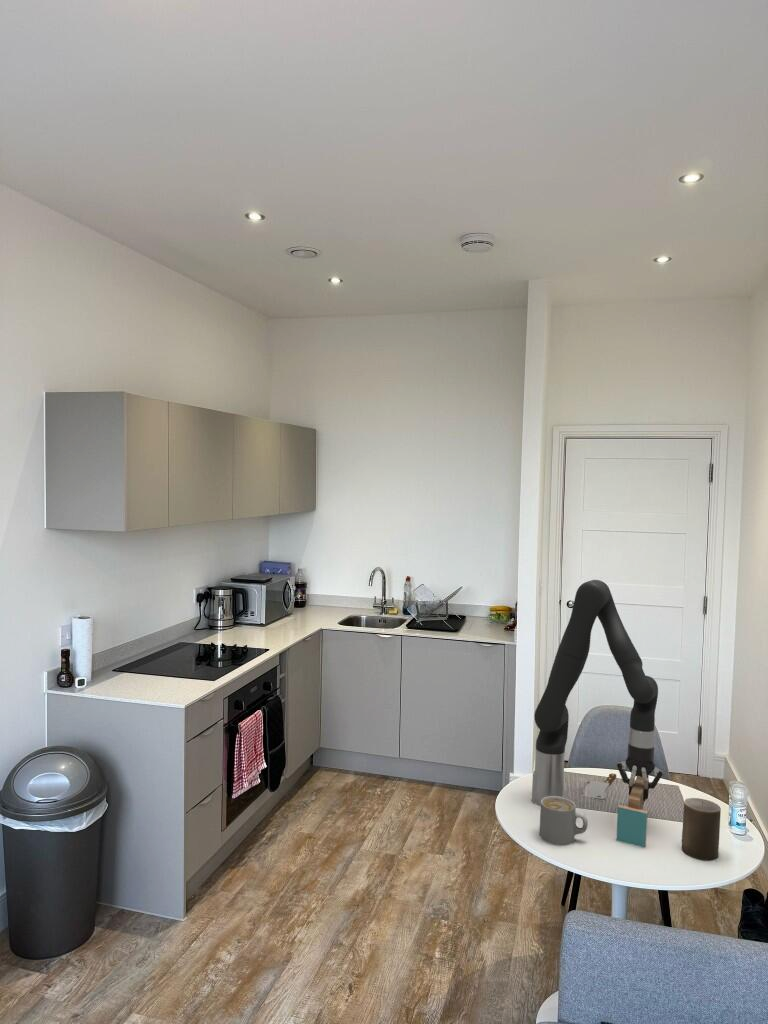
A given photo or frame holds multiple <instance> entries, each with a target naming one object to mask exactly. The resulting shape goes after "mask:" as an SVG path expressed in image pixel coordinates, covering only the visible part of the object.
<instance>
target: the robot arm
mask: <svg viewBox="0 0 768 1024" xmlns="http://www.w3.org/2000/svg"><path fill="white" fill-rule="evenodd" d="M597 618H598V620H599V622H600V624H601V627H602V629H603V631H604V634H605V638H606V642H607V645H608V648H609V650H610V653H611V654H612V657H613V659H614V660H615V662H616V665H617V666H618V668H619V669H620V672H621V675H622V677H623V681H624V684H625V686H626V690H627V691H628V694H629V695H630V697H631V698H632V699H633V707H631V711H630V716H629V717H630V718H629V729H628V736H627V737H628V738H627V739H628V740H627V754H626V755H627V758H626V759H625V761H621V760H619V761H618V762H617V763H616V767H617V769H618V772H619V774H620V777H621V779H622V783H624V784H627V785H628V796H630V793H631V791H632V788H633V785H634V783H635V780H636V778H637V776H640V777H643V782H644V792H643V801H645V802H646V800H648V798H649V791H650V789H652V790H654V789H655V788H656V786H657V784H658V783H659V782H660V780H661V779H662V777H663V774H664V769H661V768H658V767H657V766H656V764H655V761H654V760H655V759H654V757H655V744H656V739H655V738H656V737H655V721H656V717H655V715H656V714H655V713H656V707H657V701H658V696H659V685H658V683H657V681H656V680H655V679H654V678H653V677H652V676H650V675H646V674H645V672H644V669H643V666H644V665H643V661H642V658H641V656H640V654H639V652H638V650H637V649H636V647H635V645H634V643H633V642H632V640H631V637H630V636H629V634H628V632H627V630H626V628H625V626H624V624H623V622H622V620H621V617H620V615H619V612H618V610H617V607H616V604H615V601H614V597H613V595H612V592H611V589H610V587H609V585H607V583H606V582H604V581H603V580H601V579H592V580H588V581H584V582H583V583H582V584H581V585H580V586H578V588H577V589H576V593H575V596H574V601H573V606H572V609H571V614H570V618H569V621H568V622H567V626H566V628H565V630H564V633H563V635H562V638H561V640H560V643H559V646H558V648H557V651H556V654H555V657H554V660H553V663H552V666H551V670H550V673H549V677H548V680H547V684H546V686H545V690H544V692H543V693H542V697H541V699H540V700H539V702H538V704H537V706H536V709H535V710H534V716H533V717H534V723H535V725H536V726H537V728H538V729H539V732H538V736H537V737H536V740H535V758H534V760H535V761H534V762H535V763H534V771H533V773H532V786H531V787H532V788H531V802H532V803H535V804H537V805H538V806H540V807H541V800H542V799H543V798H544V797H548V796H559V797H564V778H565V777H564V776H565V756H566V755H565V754H566V745H567V741H568V732H569V721H570V720H569V714H570V713H569V710H568V707H567V705H566V703H567V701H568V699H569V698H568V697H569V695H570V694H571V692H572V690H573V689H574V687H575V685H576V684H577V682H578V680H579V678H580V676H581V675H582V672H583V670H584V668H585V666H586V662H587V659H588V657H589V653H590V648H591V635H592V630H593V627H594V624H595V622H596V619H597ZM626 767H627V769H628V770H629V772H630V777H628V774H627V772H626V770H625V769H626ZM653 771H654V778H653V779H652V782H650V780H649V779H650V777H649V776H650V775H651V774H652V773H653Z"/></svg>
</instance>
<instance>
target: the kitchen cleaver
mask: <svg viewBox="0 0 768 1024" xmlns="http://www.w3.org/2000/svg"><path fill="white" fill-rule="evenodd" d="M616 778H617V774H616V773H609V775H608V777H606V780H604V781H598V780H597V781H596V780H589V781H590V782H591V783H590V785H591V786H590V787H591V788H590V792H589V793H588V796H589V797H591V798H590V799H592V798H594V799H593V800H596V799H598V800H597V801H600V800H604V801H606V800H607V799H606V798H607V797H606V792H607V790H608V789H609V787H610V786H611V784H612V783H613V782H614V781H615V780H616ZM607 788H608V789H607Z"/></svg>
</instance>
